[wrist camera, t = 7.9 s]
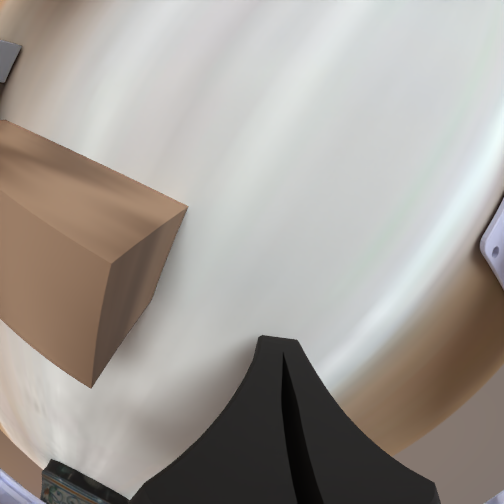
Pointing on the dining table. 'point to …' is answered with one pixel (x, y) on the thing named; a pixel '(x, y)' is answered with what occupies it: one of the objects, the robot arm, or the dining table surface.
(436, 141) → the dining table surface
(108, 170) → the peg
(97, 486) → the beer stein
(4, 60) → the block
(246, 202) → the dining table surface
